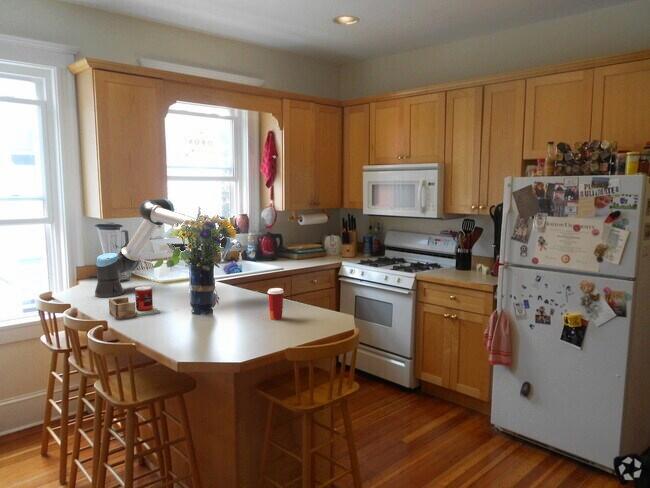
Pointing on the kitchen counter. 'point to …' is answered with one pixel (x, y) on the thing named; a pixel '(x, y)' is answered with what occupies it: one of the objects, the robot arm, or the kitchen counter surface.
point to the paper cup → (275, 303)
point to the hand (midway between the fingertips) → (162, 249)
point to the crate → (127, 309)
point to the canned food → (144, 298)
